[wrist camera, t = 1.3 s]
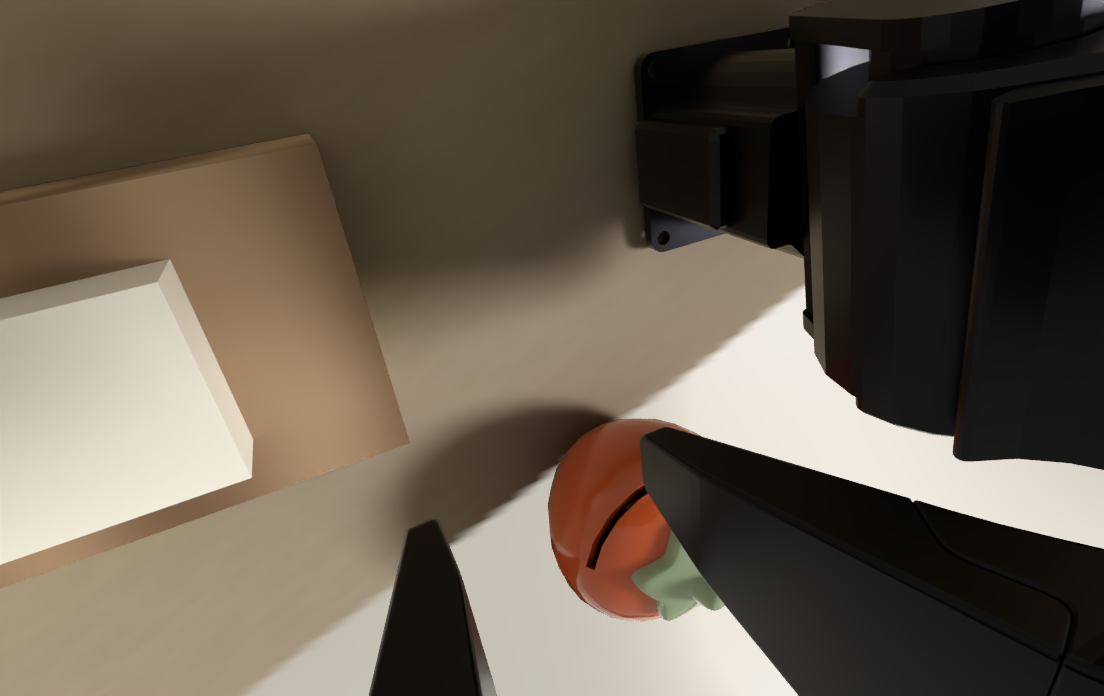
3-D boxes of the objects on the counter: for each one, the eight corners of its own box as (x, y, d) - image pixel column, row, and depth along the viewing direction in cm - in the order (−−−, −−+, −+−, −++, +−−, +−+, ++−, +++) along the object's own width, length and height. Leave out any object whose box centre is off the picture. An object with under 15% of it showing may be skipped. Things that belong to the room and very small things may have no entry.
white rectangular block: (169, 258, 13) (157, 282, 12) (253, 438, 16) (251, 477, 14) (-238, 354, 11) (-316, 397, 10) (-73, 545, 14) (-115, 604, 12)
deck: (308, 133, 16) (316, 143, 14) (392, 396, 20) (410, 442, 18) (-216, 233, 13) (-332, 270, 10) (6, 524, 17) (-39, 602, 14)
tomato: (598, 353, 23) (734, 468, 16) (704, 431, 27) (849, 549, 20) (481, 503, 23) (567, 674, 17) (603, 557, 27) (711, 713, 21)
